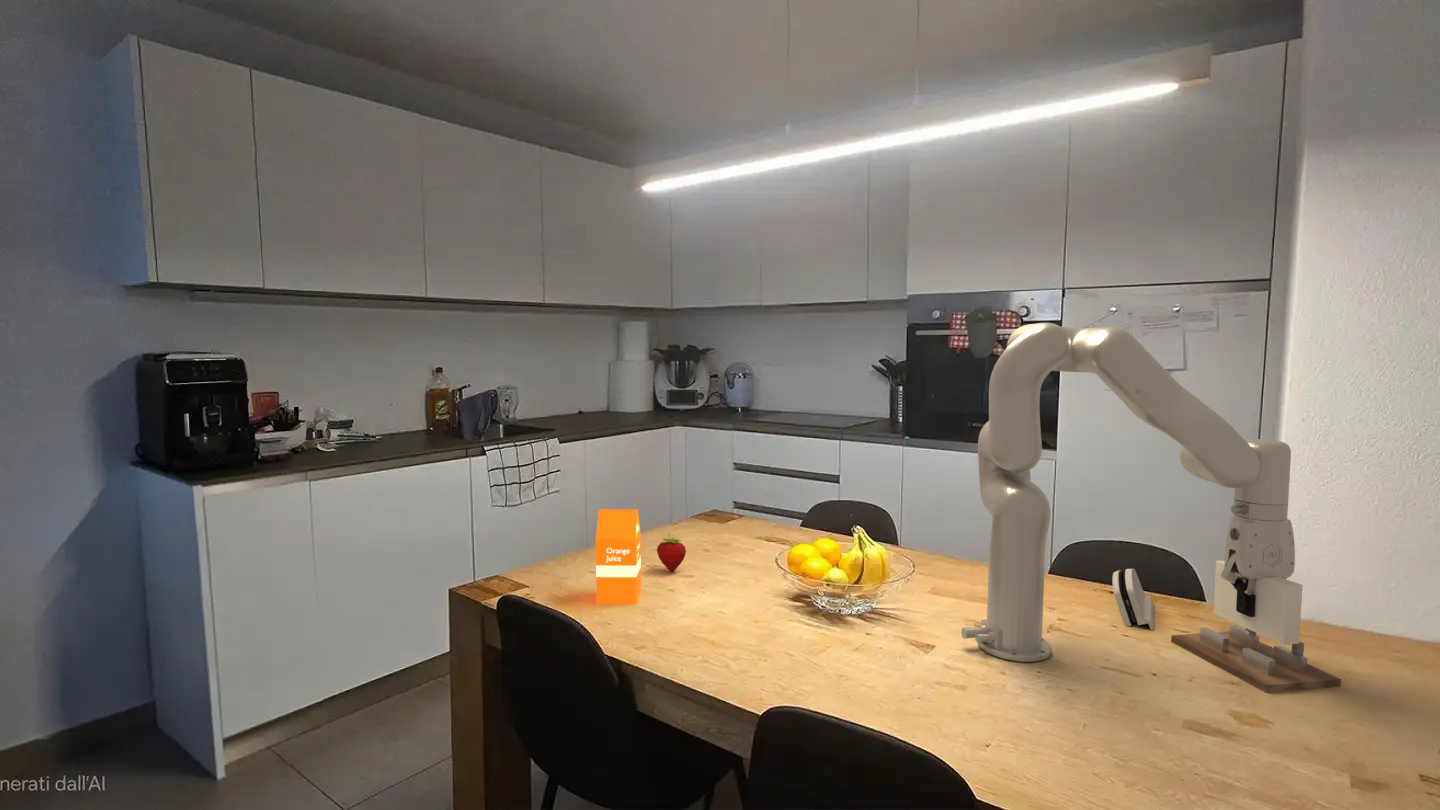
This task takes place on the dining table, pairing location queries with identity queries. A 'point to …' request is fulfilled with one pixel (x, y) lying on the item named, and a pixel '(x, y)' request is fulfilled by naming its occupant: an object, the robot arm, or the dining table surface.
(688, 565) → the dining table surface
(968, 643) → the dining table surface
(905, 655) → the dining table surface
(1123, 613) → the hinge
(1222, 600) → the door panel
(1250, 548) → the robot arm
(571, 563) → the dining table surface
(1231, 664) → the wooden assembly fixture
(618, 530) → the orange juice
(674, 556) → the strawberry
